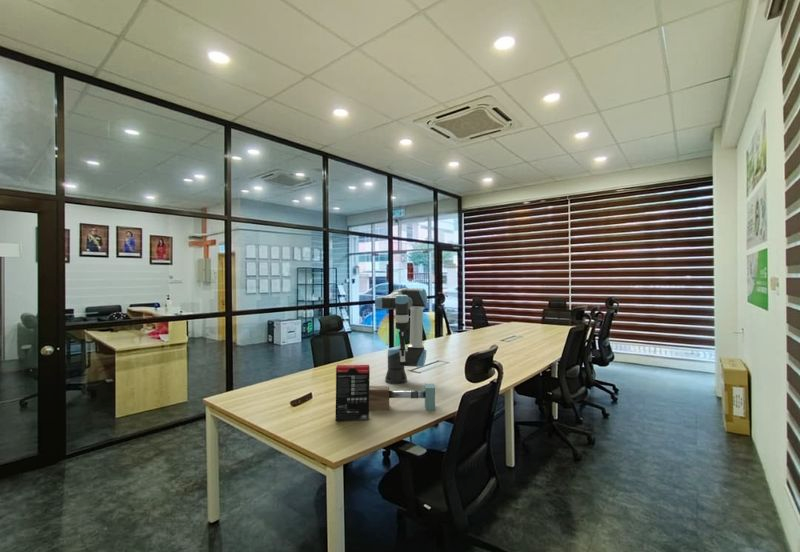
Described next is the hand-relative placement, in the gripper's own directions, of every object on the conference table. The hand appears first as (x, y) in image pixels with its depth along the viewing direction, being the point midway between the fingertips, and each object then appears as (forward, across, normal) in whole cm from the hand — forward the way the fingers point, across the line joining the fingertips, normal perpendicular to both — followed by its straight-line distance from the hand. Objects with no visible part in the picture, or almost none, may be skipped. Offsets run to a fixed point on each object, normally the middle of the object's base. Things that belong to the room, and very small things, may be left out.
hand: (402, 358), depth 209 cm
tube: (+20, +9, +3) cm, 22 cm away
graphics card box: (+24, +24, -26) cm, 43 cm away
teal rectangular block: (+25, +10, +15) cm, 31 cm away
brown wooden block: (+25, +9, -14) cm, 30 cm away
